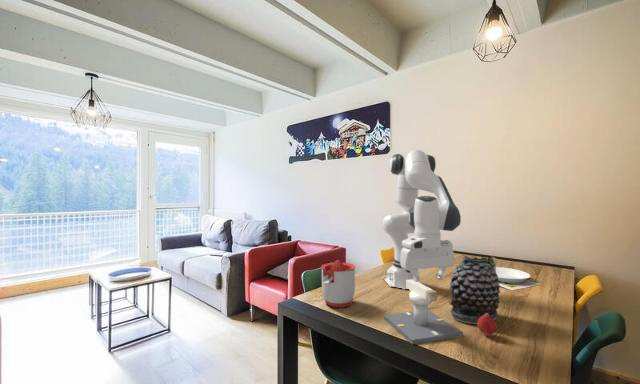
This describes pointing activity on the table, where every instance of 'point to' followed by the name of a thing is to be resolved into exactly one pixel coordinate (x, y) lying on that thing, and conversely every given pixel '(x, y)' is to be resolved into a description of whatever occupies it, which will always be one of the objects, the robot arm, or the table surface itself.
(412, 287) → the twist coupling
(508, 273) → the white plate
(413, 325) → the lock base
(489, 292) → the pineapple fairy house
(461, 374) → the table surface
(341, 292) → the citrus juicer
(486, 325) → the onion
